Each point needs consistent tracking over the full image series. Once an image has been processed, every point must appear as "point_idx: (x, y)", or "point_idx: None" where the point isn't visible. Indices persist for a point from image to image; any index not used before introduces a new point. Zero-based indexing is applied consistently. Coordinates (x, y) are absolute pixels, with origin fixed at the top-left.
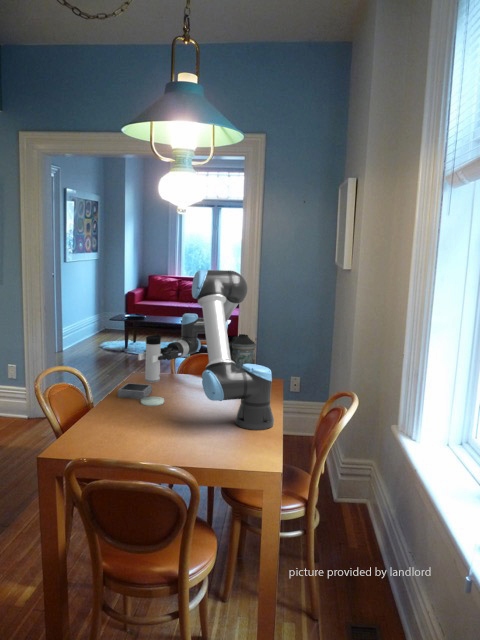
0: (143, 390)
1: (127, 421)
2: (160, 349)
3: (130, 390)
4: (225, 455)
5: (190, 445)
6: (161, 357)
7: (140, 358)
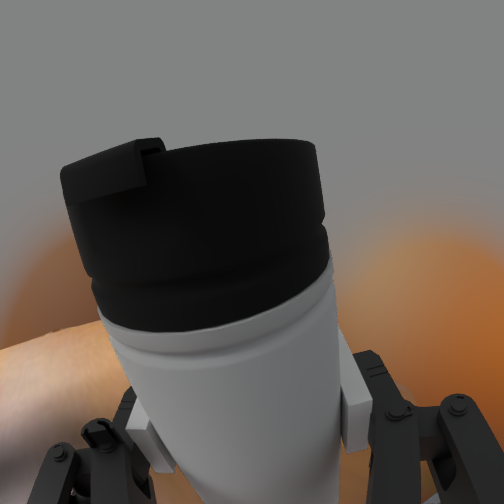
0: None
1: None
2: (134, 390)
3: (433, 499)
4: (9, 366)
5: (52, 369)
6: (125, 406)
7: None
